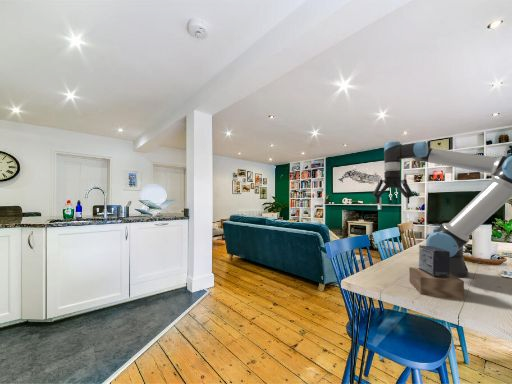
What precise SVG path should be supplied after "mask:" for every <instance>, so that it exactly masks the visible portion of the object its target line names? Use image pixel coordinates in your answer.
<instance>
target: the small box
mask: <svg viewBox="0 0 512 384" xmlns="http://www.w3.org/2000/svg"><path fill="white" fill-rule="evenodd" d="M418 250H419V251H418V253H419V254H418V255H419V257H418V258H419V259H418V268H419V269H420V270H422V271H424V272H426V273H428V274H430V275H432V276H437V277H449V272H450V251H447V250H444V249H440V248H437V247H434V246H426V245H421V244H420V245H418Z"/></svg>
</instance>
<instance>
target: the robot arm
mask: <svg viewBox="0 0 512 384" xmlns="http://www.w3.org/2000/svg"><path fill="white" fill-rule="evenodd" d="M383 149H384V150H383V154H384V155H383V157H384V162H383V163H384V179H378V182H377V185H376V187H375V189H374V191H373V193H372V195H371V196H372V197H375V203H376V204H377V210H382V197H381V196H383V194H384V193H385V192H386V191H387V189H392V188H393V189H397V190H398V192H400V193H401V194H402V195H403V211H408V209H409V208H408V207H409V204H410V198H411V197H414V194H413V192H412V190H411V188H410V186H409V185H408V180H407V179H406V178H405V179H401V171H400V170H401V160H405V159H412V160H415V161H417V162H425V163H431V164H437V165H442V166H447V167H453V168H458V169H462V170H464V169H465V170H471V171H475V172H480V173H486V174H491V181H490V182H489V184H487V185H486V186H485V187H484V188H483V189H482V190H481V191H480V192H479V193H478V194H477V195H475V197H474V198H473V199H472V200H471V201H470V202H468V204H466V205H465V207H463V209H461V211H459V212H458V214H456V216H454V217H453V218H452V219H451V220H450V221H449V222H443V223H442V224H441V225H440V226H434V227H433V230H432V233H430V234H429V235H428V236H427V238H426V241H425V244H426V245H425V246H434V247H437V248H440V249H444V250H447V251H450V273H452V274H453V275H455V276H456V277H458V278H466V277H469V269H468V267H467V264H466V262H465V259H464V247H465V245H467V244H468V243H469V242H470V237H469V236H471V234H472V233H474V232H475V231H476V230H477V229H478V228H479V227H481V226H482V225H483V224H484V223H485V222H486V221H487V220H488V219H489V218H490V217H492V215H494V214H495V213H496V212H497V211H498V210H499V209H500V208H502V207H503V206H504V205H505V204H506V203H507V202H508V201H510V199H512V155H510V156H505V155H501V156H498V157H495V156H489V155H482V154H481V155H480V154H476V153H474V154H473V153H468V152H461V151H454V150H446V149H439V148H432V147H429V145H428V142H426V141H417V142H411V143H406V144H401V142H400V141H396V140H395V141H389V142H386V143H384V147H383ZM383 184H384V185H383ZM401 184H402V185H401ZM382 185H383V186H382ZM402 186H403V187H402ZM381 187H382V188H381Z"/></svg>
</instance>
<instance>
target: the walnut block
mask: <svg viewBox="0 0 512 384" xmlns="http://www.w3.org/2000/svg"><path fill="white" fill-rule="evenodd" d="M408 271H409V273H408V274H409V283H410V284H411V285H412V286H413V287H414V288H416V291H417V292H418V293H419V294H420V295H422V296H424V295H425V296H434V297H442V298H451V299H459V300H460V299H461V300H464V299H465V281H464V280H463V279H461V278H460V277H456V276H455V275H453V274H452V273H450V272H449V277H437V276H432V275H430V274H428V273H426V272H424V271H422V270H420V269H419V267H411V266H410V267H409V270H408Z"/></svg>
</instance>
